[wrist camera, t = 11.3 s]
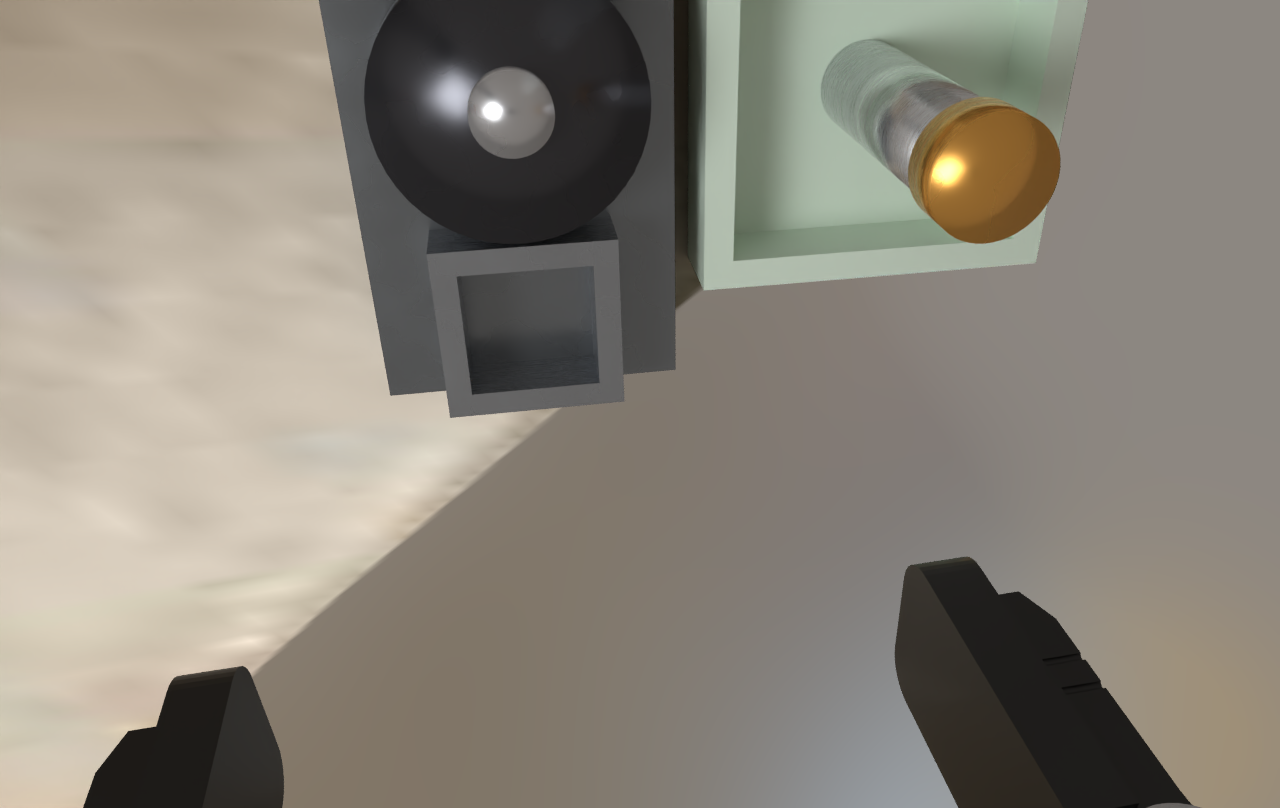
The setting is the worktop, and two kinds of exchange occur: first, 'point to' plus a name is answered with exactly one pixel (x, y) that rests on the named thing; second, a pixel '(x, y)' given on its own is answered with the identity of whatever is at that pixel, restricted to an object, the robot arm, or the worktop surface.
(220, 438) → the worktop surface
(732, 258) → the tray
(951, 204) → the pin
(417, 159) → the tensioner block
